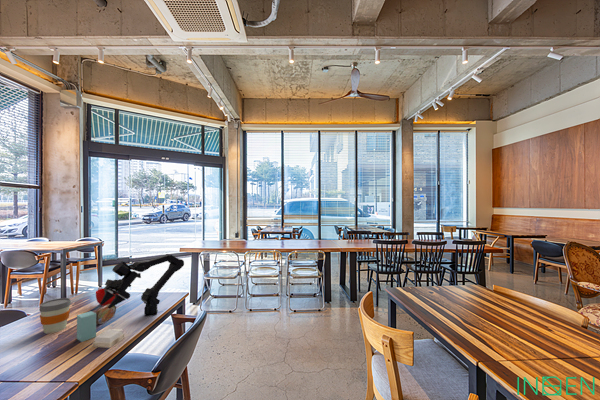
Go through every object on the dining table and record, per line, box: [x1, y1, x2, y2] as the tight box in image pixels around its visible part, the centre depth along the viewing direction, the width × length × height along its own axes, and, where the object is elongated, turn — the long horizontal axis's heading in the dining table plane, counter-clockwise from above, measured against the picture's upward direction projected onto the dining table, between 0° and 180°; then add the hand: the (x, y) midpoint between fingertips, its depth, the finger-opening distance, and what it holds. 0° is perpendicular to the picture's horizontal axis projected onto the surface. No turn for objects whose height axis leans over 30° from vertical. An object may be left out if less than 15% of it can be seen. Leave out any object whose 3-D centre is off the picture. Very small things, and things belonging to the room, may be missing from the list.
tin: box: [95, 304, 117, 325], centre depth 150 cm, size 15×3×8 cm, turn 2°
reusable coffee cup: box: [38, 297, 72, 334], centre depth 140 cm, size 13×13×15 cm
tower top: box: [94, 328, 124, 343], centre depth 127 cm, size 8×8×2 cm
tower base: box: [92, 333, 125, 349], centre depth 127 cm, size 9×9×2 cm
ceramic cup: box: [95, 287, 117, 307], centre depth 175 cm, size 13×17×10 cm
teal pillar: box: [76, 310, 97, 343], centre depth 131 cm, size 6×6×12 cm
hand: (104, 306), depth 138 cm, fingers open, 9 cm apart
